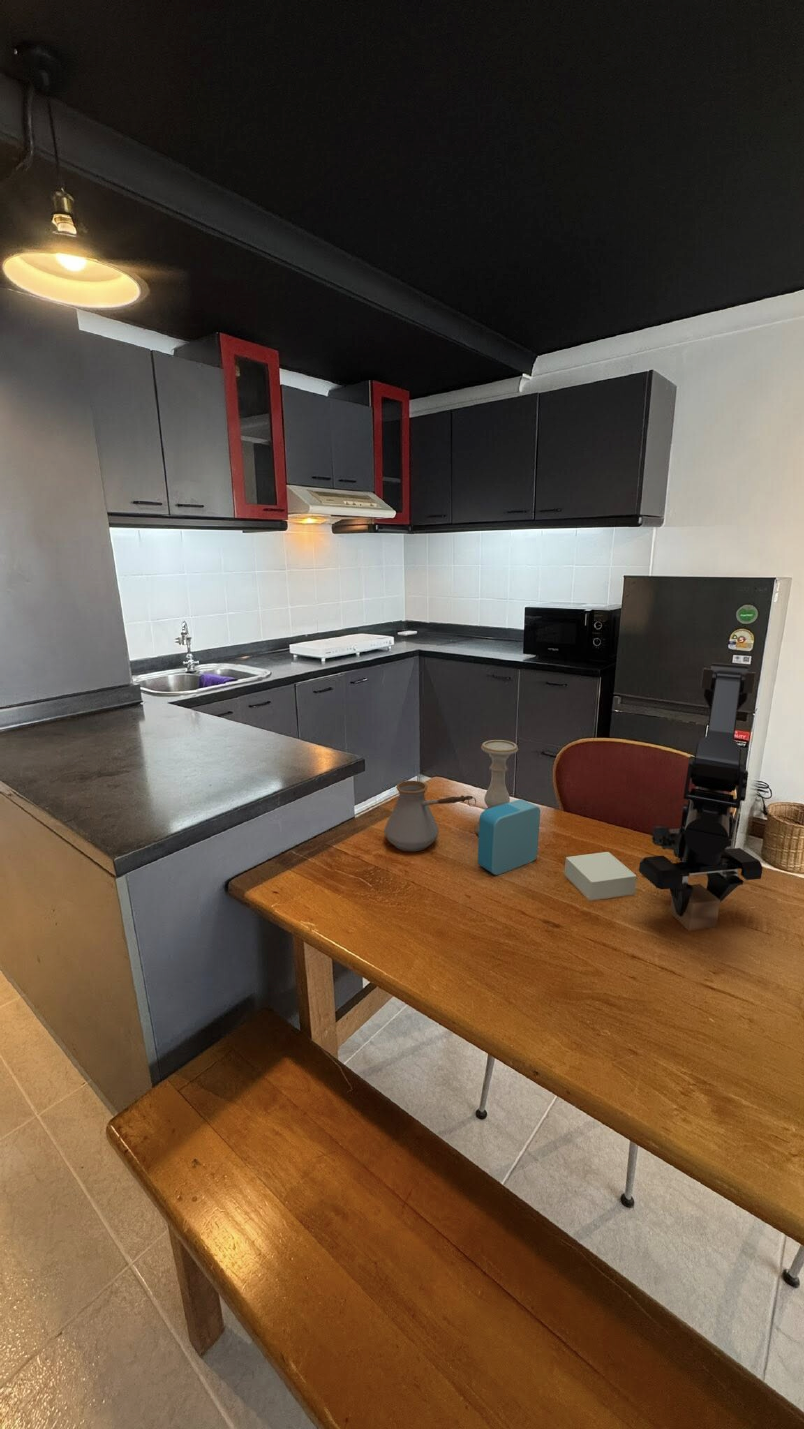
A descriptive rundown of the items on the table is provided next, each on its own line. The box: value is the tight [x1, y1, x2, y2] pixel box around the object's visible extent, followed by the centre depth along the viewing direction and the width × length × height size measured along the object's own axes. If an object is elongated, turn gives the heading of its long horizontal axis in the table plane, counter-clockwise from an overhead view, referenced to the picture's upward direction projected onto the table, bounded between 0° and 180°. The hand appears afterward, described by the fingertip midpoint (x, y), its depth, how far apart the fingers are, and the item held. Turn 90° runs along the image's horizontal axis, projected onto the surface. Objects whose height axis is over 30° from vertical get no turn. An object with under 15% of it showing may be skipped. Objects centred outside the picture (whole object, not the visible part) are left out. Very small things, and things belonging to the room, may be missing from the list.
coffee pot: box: [383, 780, 477, 852], centre depth 119 cm, size 21×12×15 cm, turn 47°
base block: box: [564, 851, 638, 902], centre depth 108 cm, size 9×9×4 cm
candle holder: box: [474, 739, 519, 837], centre depth 125 cm, size 9×9×20 cm
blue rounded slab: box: [477, 798, 541, 876], centre depth 114 cm, size 12×4×12 cm, turn 123°
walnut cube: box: [669, 883, 721, 931], centre depth 97 cm, size 5×5×5 cm
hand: (693, 913), depth 98 cm, fingers closed on walnut cube, 5 cm apart
